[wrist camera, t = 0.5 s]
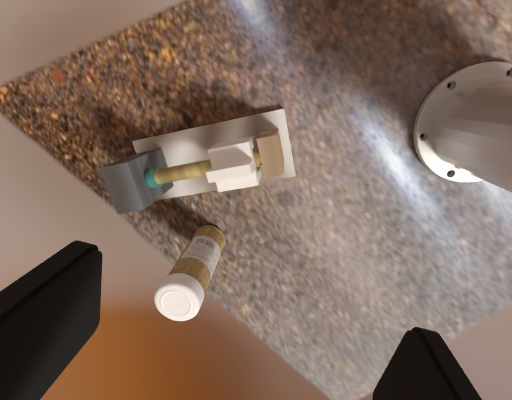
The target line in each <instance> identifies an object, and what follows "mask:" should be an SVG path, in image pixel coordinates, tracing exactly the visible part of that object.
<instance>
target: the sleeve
mask: <svg viewBox="0 0 512 400" xmlns="http://www.w3.org/2000/svg"><path fill="white" fill-rule="evenodd" d="M254 146H255V140H254V136H252V137H247V138H242V139H237V140H232V141H227V142H222V143H217V144H216V145H214V146H213V147H211V148H210V149H208V150H207V151H208V155H209V158H210V162H211V166H212V167H211V168H210V169H209V170H208V171H207V172H206V176H207V180H208V183H212V182H216V185H217V189H218V192H222V191H228V190H234V189H240V188H245V187H251V186H257V185H258V184H259V181H260V178H261V175H262V174H261V169H260V167H256V165H255V161H254V156H253V151H252V149H253V147H254Z"/></svg>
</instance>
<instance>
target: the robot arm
mask: <svg viewBox="0 0 512 400" xmlns="http://www.w3.org/2000/svg"><path fill="white" fill-rule="evenodd" d="M506 73H507V75H506ZM448 83H449V87H448V88H447V84H448ZM421 134H423V136H422V137H421V138H420V135H421ZM413 141H414V147H415V151H416V153H417V155H418V157H419V159H420V161H421V162H422V163H423V165H424V166H425V167H426V168H427V169H429V170H430V171H431V172H432V173H434V174H436V175H437V176H439V177H441V178H443V179H446V180H449V181H453V182H459V183H473V182H479V181H484V180H485V181H487V182H489V183H492V184H494V185H496V186H498V187H501V188H503V189H505V190H508V191H510V192H512V64H511V63H507V62H495V61H494V62H485V63H479V64H475V65H470V66H467V67H465V68H462V69H460V70H458V71H456V72H454V73H452V74H451V75H449V76H448V77H446V78H445V79H443V80H442V81H441V82H440V83H439V84H438V85H436V86H435V87H434V88H433V90H432V91H431V92H430V93H429V94H428V95H427V97H426V98H425V100H424V102H423V103H422V105H421V106H420V109H419V111H418V113H417V116H416V119H415V123H414V128H413ZM448 171H449V172H448ZM447 172H448V173H447ZM101 275H102V253H101V252H100V251H98V247H97V246H96V245H93V244H89V243H86V242H81V241H74V242H72V243H70V244H69V245H67V246H66V247H64V248H63V249H62V250H60V251H59V252H57V253H56V254H54V255H53V256H51V257H50V258H48V259H47V260H46V261H44V262H43V263H41V264H40V265H38V266H37V267H35V268H34V269H32V270H31V271H29V272H28V273H27V274H25V275H24V276H22V277H21V278H19V279H18V280H16V281H15V282H13V283H12V284H10V285H9V286H8V287H6V288H5V289H3V290H2V291H0V400H40V399H41V398H42V396H43V395H44V394H45V393H46V391H47V390H48V389H49V387H50V386H51V385H52V384H53V383H54V382H55V380H56V379H57V378H58V377H59V375H60V374H61V373H62V372H63V370H64V369H65V368H66V367H67V365H68V364H69V363H70V362H71V360H72V359H73V358H74V357H75V356H76V354H77V353H78V352H79V351H80V349H81V348H82V347H83V346H84V344H85V343H86V342H87V341H88V340H89V338H90V337H91V336H92V335H93V333H94V332H95V330H96V329H97V326H98V324H99V320H100V300H101ZM373 400H482V399H481V398H480V396H479V394H478V393H477V391H476V390H475V389H474V387H473V385H472V384H471V382H470V381H469V379H468V378H467V376H466V374H465V373H464V371H463V370H462V368H461V367H460V365H459V364H458V362H457V360H456V359H455V357H454V356H453V354H452V353H451V351H450V350H449V348H448V346H447V345H446V343H445V342H444V340H443V339H442V337H441V336H440V335H439V334H438V333H437V332H435V331H431V330H427V329H423V328H419V327H415V328H413V329H412V330H411V331H407V332H406V333H405V335H404V336H403V338H402V340H401V342H400V344H399V346H398V347H397V349H396V351H395V353H394V355H393V357H392V358H391V360H390V362H389V364H388V366H387V368H386V369H385V371H384V373H383V375H382V377H381V379H380V380H379V382H378V384H377V386H376V388H375V389H374V392H373Z"/></svg>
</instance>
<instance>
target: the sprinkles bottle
mask: <svg viewBox="0 0 512 400" xmlns="http://www.w3.org/2000/svg"><path fill="white" fill-rule="evenodd" d="M225 243H226V240H225V236H224V234H223V232H222V231H221V230H220V229H219V228H217V227H215V226H212V225H205V226H202V227H200V228H198V229H197V230H196V232H195V234H194V236H193V238H192V239H191V241H190V242H189V243H188V244H187V246H186V247H185V249H184V250H183V252H182V254H181V256H180V258H179V259H178V261H177V262H176V264H175V265H174V267H173V269H172V271H171V272H170V274H169V275H168V276H167V277H166V278H165V279H164V280H163V281H162V282H161V284H160V286H159V287H158V289H157V291H156V293H155V297H154V300H155V305H156V307H157V309H158V310H159V311H160V312H161V314H163V315H164V316H165V317H167V318H169V319H172V320H176V321H185V320H189V319H191V318H193V317H194V316H195V315H196V314H197V313H198V311H199V309H200V307H201V304H202V302H203V299H204V292H205V290H206V287H207V285H208V283H209V281H210V279H211V277H212V274H213V272H214V269H215V267H216V265H217V262H218V260H219V257H220V254H221V251H222V249H223V248H224V246H225Z"/></svg>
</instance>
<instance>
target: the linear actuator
mask: <svg viewBox="0 0 512 400" xmlns="http://www.w3.org/2000/svg"><path fill="white" fill-rule="evenodd" d="M252 136H254V140H255V146H254V147H253V149H252V151H253V156H254V161H255V165H256V167H260V169H261V174H262V175H261V178H260V181H259V182H265V181H271V180H276V179H282V178H288V177H294V176H295V170H294V164H293V158H292V152H291V146H290V140H289V134H288V129H287V123H286V117H285V111H284V108H283V109H279V110H274V111H269V112H265V113H260V114H255V115H251V116H246V117H242V118H237V119H232V120H228V121H223V122H218V123H214V124H209V125H205V126H200V127H195V128H191V129H186V130H181V131H177V132H172V133H167V134H163V135H158V136H154V137H149V138H144V139H140V140H135V141H132V143H133V145H134V148H135V151H136V154H135V155H132V156H129V157H127V158H124V159H122V160H119V161H116V162H114V163H111V164H109V165H106V166H103V167H101V168H100V170H101V172H102V175H103V177H104V180H105V182H106V185H107V188H108V190H109V193H110V195H111V198H112V200H113V203H114V205H115V208H116V210H117V213H118V214H122V213H128V212H134V211H140V210H145V209H146V208H147V207H148V206H150V205H151V204H152V203H153V202H155V201H157V200H162V199H168V198H174V197H180V196H185V195H191V194H197V193H202V192H208V191H214V190H218V189H217V185H216V182H212V183H208V180H207V176H206V172H207V171H208V170H209V169H210V168H211V167H212V166H211V162H210V158H209V155H208V151H207V150H208V149H210V148H211V147H213V146H214V145H216V144H217V143H222V142H227V141H232V140H237V139H242V138H247V137H252Z"/></svg>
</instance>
